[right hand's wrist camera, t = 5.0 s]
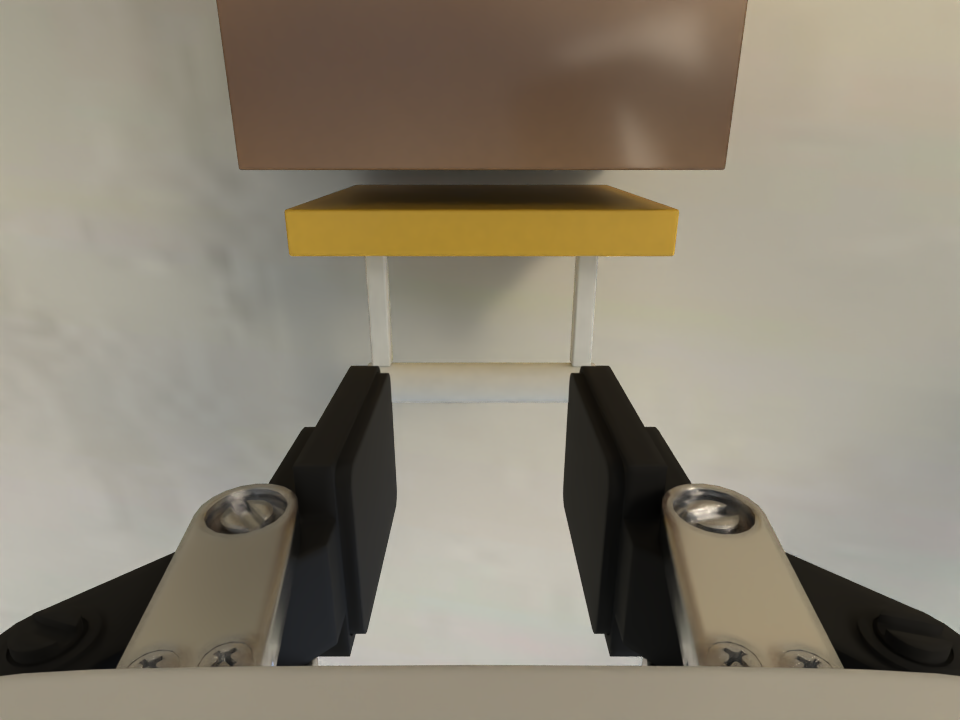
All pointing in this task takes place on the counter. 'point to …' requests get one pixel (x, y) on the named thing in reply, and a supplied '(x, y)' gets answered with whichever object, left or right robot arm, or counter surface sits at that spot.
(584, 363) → the drawer
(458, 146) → the cabinet
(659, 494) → the right robot arm
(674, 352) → the counter surface
